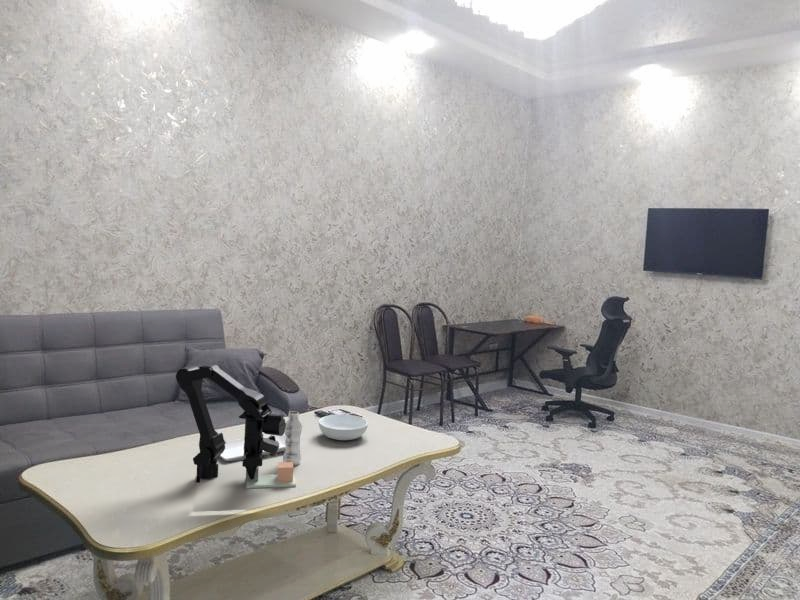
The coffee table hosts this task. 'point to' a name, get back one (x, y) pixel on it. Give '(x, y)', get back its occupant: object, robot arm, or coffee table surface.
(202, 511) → the coffee table surface
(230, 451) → the tray
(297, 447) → the plastic bottle
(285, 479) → the terracotta block
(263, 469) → the coffee table surface
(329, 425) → the serving bowl
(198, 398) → the robot arm
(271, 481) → the pale green platform
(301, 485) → the coffee table surface
